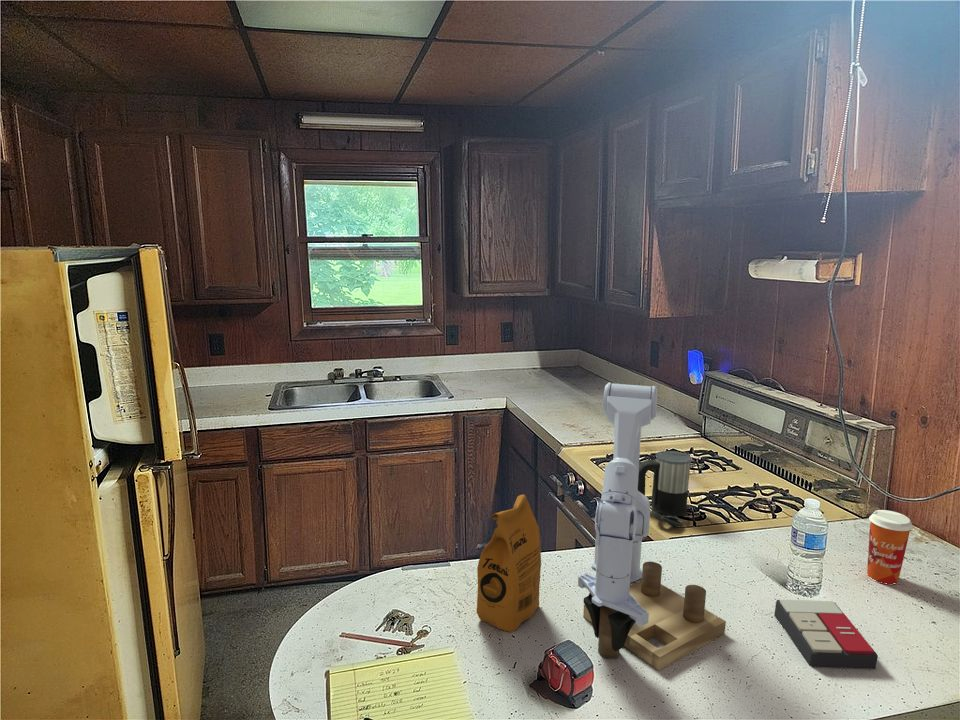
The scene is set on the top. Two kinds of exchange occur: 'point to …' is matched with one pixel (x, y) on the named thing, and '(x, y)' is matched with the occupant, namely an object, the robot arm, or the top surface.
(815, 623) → the calculator
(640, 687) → the top surface
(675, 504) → the milk frother
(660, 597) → the wooden peg board
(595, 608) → the robot arm
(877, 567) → the paper cup
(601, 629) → the loose leg
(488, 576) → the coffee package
